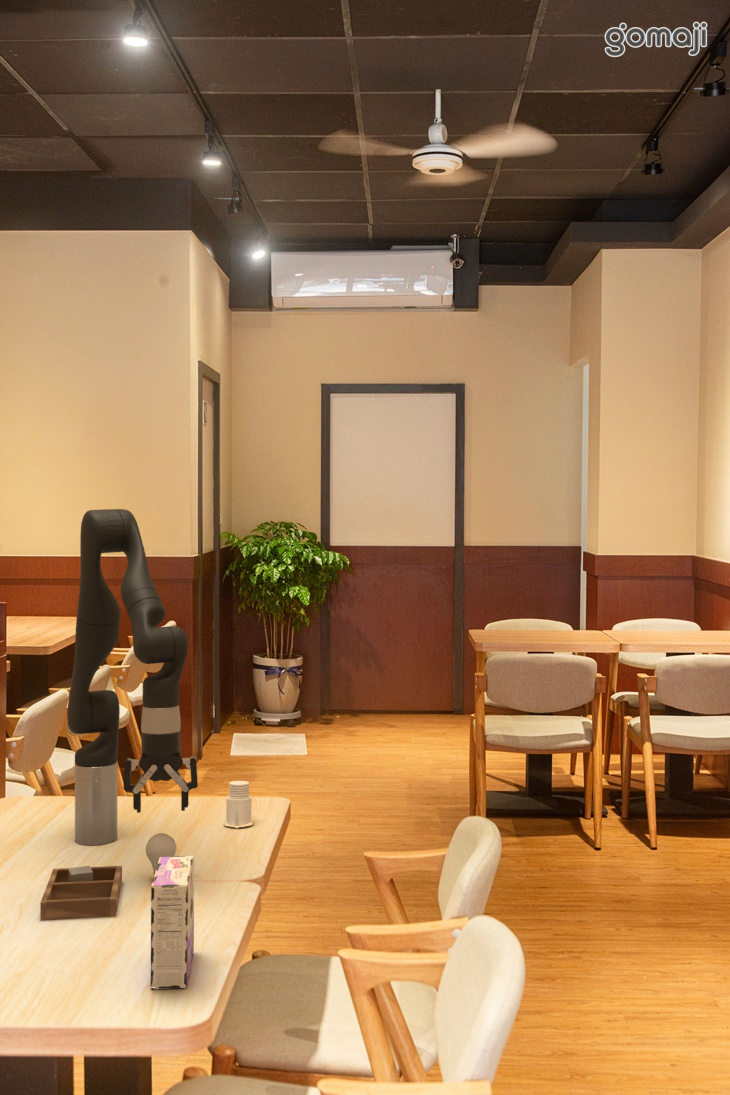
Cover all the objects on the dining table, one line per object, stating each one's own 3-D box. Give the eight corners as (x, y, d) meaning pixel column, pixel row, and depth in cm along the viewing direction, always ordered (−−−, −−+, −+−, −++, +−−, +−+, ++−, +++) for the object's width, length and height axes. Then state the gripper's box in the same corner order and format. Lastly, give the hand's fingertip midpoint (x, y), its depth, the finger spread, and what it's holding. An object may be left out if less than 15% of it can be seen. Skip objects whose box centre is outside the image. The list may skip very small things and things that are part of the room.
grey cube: (67, 889, 204) (67, 868, 204) (89, 886, 206) (89, 865, 206) (71, 895, 201) (71, 874, 200) (92, 892, 202) (92, 872, 202)
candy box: (159, 953, 177) (159, 855, 176) (194, 952, 177) (195, 854, 177) (149, 990, 163) (149, 884, 163) (188, 989, 164) (188, 883, 163)
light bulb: (169, 890, 206) (169, 839, 206) (140, 888, 207) (140, 837, 207) (180, 880, 212) (180, 830, 212) (152, 877, 213) (152, 828, 213)
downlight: (251, 830, 246) (252, 786, 246) (221, 829, 246) (221, 786, 246) (255, 821, 254) (256, 779, 254) (226, 821, 254) (226, 779, 254)
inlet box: (53, 889, 206) (53, 868, 206) (121, 885, 208) (121, 865, 208) (40, 924, 188) (40, 902, 188) (115, 920, 191) (115, 898, 190)
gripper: (197, 724, 213) (197, 804, 214) (124, 725, 211) (125, 807, 212) (197, 731, 206) (197, 814, 206) (122, 733, 204) (122, 817, 204)
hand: (160, 810), depth 209 cm, fingers open, 8 cm apart
